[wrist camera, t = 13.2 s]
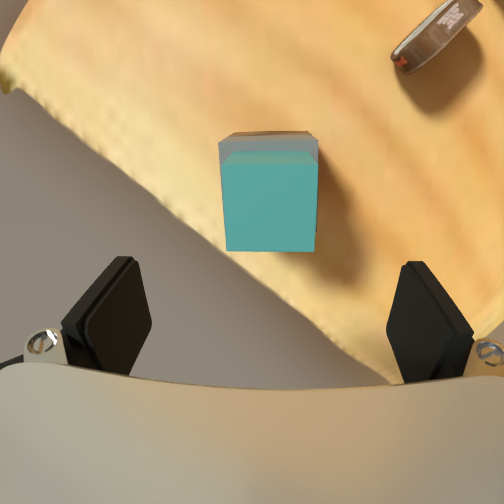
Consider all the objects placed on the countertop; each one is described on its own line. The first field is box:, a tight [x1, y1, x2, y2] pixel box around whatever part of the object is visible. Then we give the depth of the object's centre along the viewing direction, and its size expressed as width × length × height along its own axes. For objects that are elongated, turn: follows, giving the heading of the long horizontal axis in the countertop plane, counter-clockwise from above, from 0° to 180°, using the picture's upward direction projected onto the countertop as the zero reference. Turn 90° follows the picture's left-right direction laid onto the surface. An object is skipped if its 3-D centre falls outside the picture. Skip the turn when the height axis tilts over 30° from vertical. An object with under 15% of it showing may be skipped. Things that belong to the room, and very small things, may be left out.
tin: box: [390, 0, 483, 75], centre depth 21 cm, size 15×3×8 cm, turn 140°
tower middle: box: [218, 135, 318, 232], centre depth 28 cm, size 8×8×5 cm
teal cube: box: [222, 151, 318, 252], centre depth 23 cm, size 6×6×6 cm
